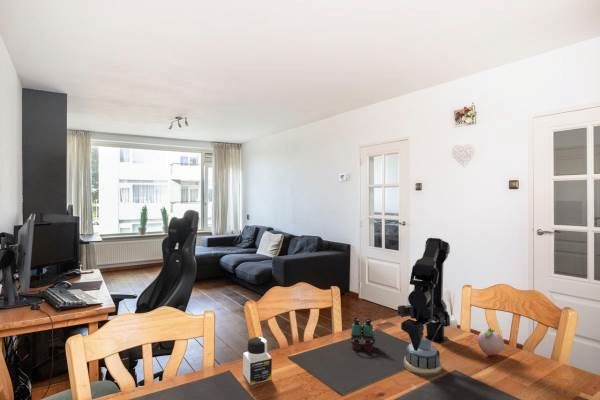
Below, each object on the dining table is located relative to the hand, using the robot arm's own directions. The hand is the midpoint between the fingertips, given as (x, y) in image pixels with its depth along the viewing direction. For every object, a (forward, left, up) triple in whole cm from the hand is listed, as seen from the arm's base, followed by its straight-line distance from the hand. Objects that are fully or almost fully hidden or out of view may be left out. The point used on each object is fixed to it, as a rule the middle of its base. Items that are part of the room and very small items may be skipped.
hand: (422, 346), depth 118 cm
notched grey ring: (0, 0, -7) cm, 7 cm away
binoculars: (+4, -22, -7) cm, 24 cm away
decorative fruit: (-27, +12, -7) cm, 30 cm away
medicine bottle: (+46, -31, -7) cm, 56 cm away
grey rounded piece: (0, 0, -5) cm, 5 cm away
